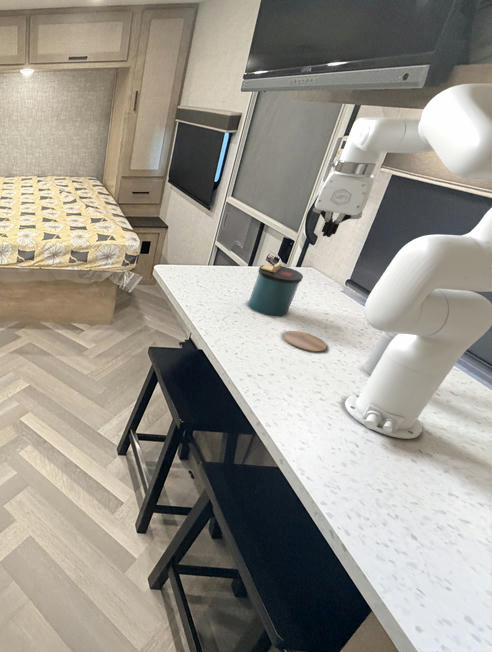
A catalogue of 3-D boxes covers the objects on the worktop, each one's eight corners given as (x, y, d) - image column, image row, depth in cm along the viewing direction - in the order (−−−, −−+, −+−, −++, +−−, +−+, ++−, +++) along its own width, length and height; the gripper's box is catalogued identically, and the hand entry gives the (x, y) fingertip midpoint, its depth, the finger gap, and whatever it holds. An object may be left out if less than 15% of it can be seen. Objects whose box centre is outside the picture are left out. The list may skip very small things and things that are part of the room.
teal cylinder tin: (281, 321, 124) (296, 283, 118) (241, 307, 132) (253, 271, 126) (293, 309, 131) (308, 272, 125) (254, 296, 139) (266, 261, 132)
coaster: (320, 356, 108) (321, 355, 108) (278, 340, 114) (279, 339, 114) (330, 343, 113) (330, 341, 113) (289, 328, 120) (290, 327, 120)
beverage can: (363, 364, 105) (384, 326, 99) (387, 373, 101) (410, 334, 96) (361, 373, 102) (382, 334, 96) (386, 381, 98) (409, 342, 93)
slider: (274, 272, 125) (277, 266, 124) (260, 268, 127) (262, 262, 126) (279, 269, 127) (281, 263, 126) (265, 265, 130) (267, 259, 129)
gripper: (316, 166, 107) (292, 232, 115) (390, 174, 97) (357, 245, 105) (323, 163, 111) (300, 226, 119) (395, 170, 101) (363, 239, 109)
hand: (327, 235), depth 112 cm, fingers closed
